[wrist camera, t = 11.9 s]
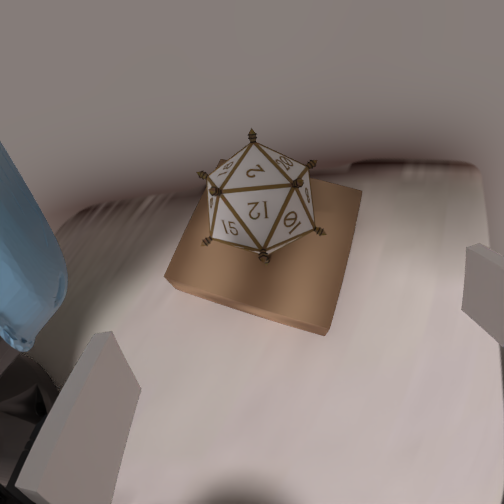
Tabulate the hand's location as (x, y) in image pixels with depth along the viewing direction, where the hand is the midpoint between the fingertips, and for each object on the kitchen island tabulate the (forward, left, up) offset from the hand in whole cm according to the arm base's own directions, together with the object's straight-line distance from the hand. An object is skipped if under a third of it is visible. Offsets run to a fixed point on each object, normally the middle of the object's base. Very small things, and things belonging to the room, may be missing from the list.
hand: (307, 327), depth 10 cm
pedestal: (-5, +9, -15) cm, 18 cm away
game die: (-5, +9, -12) cm, 16 cm away
